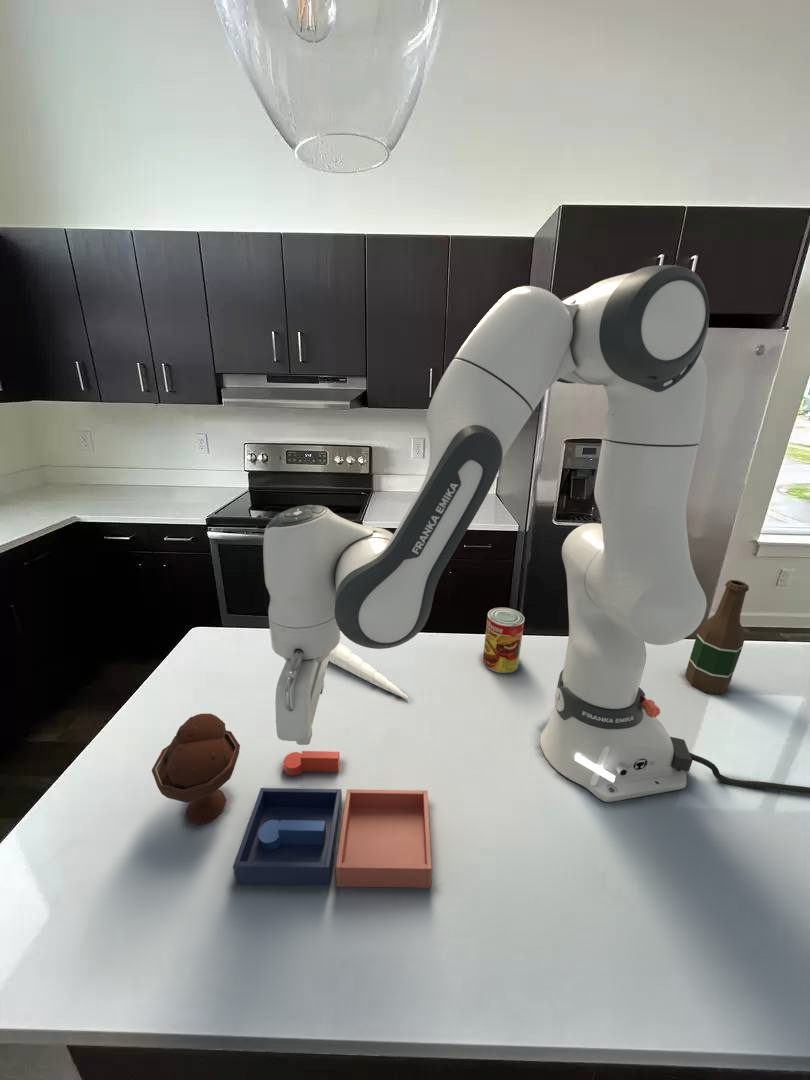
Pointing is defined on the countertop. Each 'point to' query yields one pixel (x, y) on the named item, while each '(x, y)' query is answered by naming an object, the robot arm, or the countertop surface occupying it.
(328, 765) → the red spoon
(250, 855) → the blue bin
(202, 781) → the ice cream bowl
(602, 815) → the countertop surface
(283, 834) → the blue elongated piece
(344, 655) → the unicorn horn
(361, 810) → the red bin
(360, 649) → the countertop surface
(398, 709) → the countertop surface
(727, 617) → the beer bottle
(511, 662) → the canned food
